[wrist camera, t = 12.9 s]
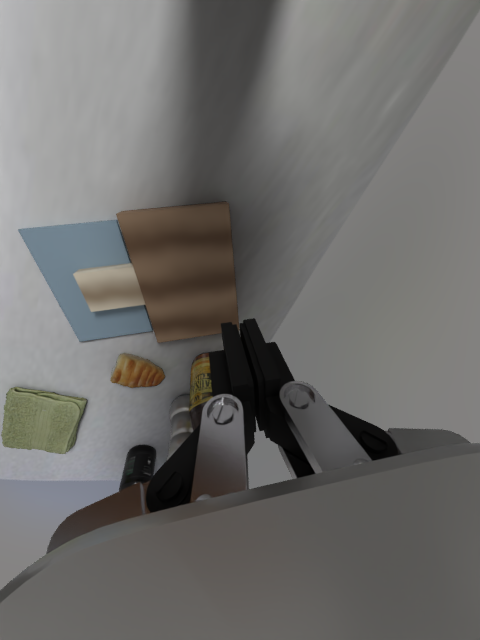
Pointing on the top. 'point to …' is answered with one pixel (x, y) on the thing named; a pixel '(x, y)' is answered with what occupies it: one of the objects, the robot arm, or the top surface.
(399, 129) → the top surface
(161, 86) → the top surface
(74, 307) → the rubber mat
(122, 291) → the birch tile
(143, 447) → the supplement bottle
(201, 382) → the sauce bottle
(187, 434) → the plastic bottle
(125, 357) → the pastry
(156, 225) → the walnut stand
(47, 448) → the washcloth
